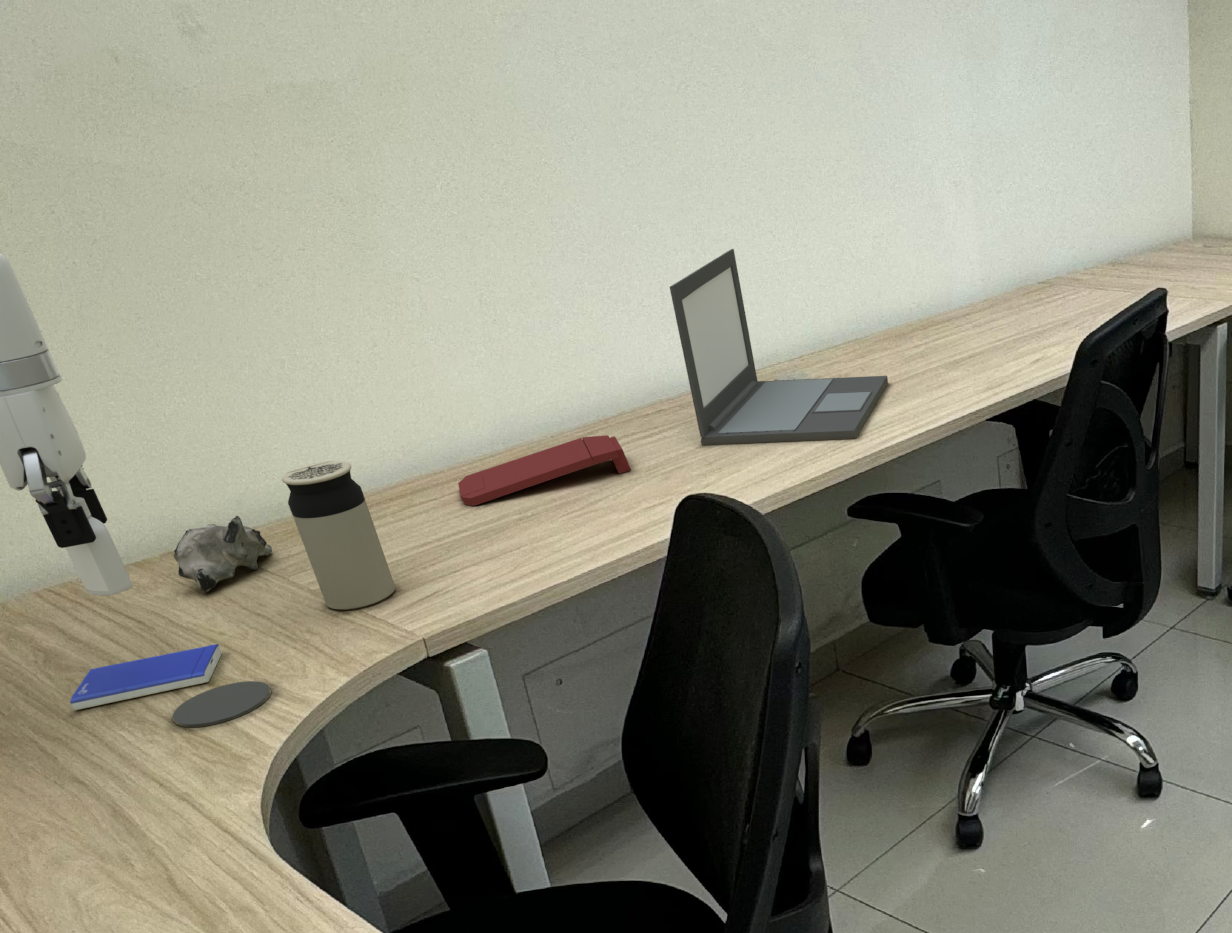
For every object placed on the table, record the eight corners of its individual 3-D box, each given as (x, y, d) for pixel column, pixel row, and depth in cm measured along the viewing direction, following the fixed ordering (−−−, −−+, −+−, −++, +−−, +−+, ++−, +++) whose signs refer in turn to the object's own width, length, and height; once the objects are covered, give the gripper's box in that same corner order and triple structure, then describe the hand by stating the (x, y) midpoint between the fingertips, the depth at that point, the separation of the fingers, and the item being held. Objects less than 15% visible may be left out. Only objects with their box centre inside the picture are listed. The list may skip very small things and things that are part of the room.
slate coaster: (167, 736, 122) (166, 733, 122) (180, 699, 130) (178, 696, 129) (267, 711, 126) (266, 708, 126) (274, 676, 134) (273, 673, 133)
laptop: (855, 439, 203) (832, 279, 191) (700, 445, 203) (667, 286, 191) (888, 383, 235) (869, 242, 223) (753, 389, 235) (728, 249, 223)
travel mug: (403, 596, 152) (359, 469, 144) (334, 617, 147) (285, 487, 139) (387, 579, 157) (345, 455, 149) (321, 598, 152) (273, 471, 144)
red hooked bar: (475, 528, 182) (633, 473, 191) (461, 501, 179) (621, 446, 188) (470, 504, 191) (621, 453, 200) (457, 478, 189) (610, 427, 198)
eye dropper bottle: (83, 603, 125) (35, 502, 120) (86, 586, 129) (39, 487, 124) (133, 591, 127) (88, 491, 122) (135, 575, 132) (91, 477, 126)
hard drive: (68, 700, 127) (202, 672, 132) (90, 667, 134) (217, 641, 139) (74, 712, 128) (208, 683, 132) (96, 679, 134) (222, 653, 139)
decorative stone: (199, 554, 165) (193, 490, 161) (277, 556, 169) (272, 493, 165) (167, 603, 152) (159, 534, 148) (252, 604, 156) (246, 537, 152)
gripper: (-15, 362, 123) (58, 517, 131) (-65, 400, 109) (20, 571, 117) (73, 350, 126) (140, 502, 134) (35, 386, 113) (112, 553, 120)
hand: (83, 533), depth 125 cm, fingers closed on eye dropper bottle, 5 cm apart
